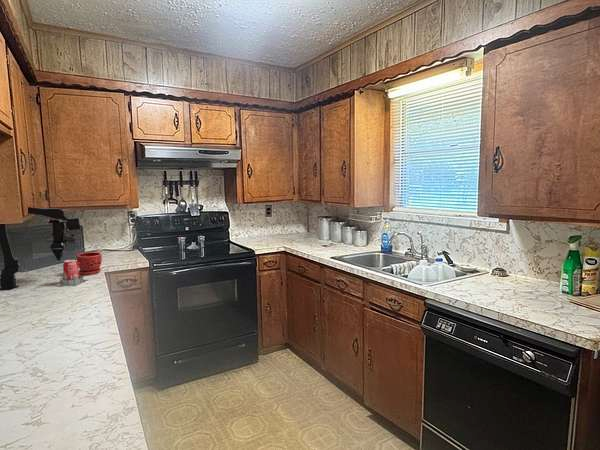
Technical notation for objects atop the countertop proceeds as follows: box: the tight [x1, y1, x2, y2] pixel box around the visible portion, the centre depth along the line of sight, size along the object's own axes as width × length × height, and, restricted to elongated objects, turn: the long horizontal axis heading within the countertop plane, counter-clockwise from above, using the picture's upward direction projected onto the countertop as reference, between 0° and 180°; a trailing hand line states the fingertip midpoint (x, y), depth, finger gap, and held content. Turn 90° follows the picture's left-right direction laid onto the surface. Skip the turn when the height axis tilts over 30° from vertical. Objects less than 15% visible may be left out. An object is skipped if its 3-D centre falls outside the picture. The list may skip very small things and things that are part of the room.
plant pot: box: [76, 251, 103, 276], centre depth 222 cm, size 13×13×12 cm
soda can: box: [62, 259, 80, 280], centre depth 200 cm, size 7×7×12 cm
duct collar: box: [55, 274, 89, 287], centre depth 201 cm, size 11×11×3 cm
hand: (59, 258), depth 204 cm, fingers open, 9 cm apart
